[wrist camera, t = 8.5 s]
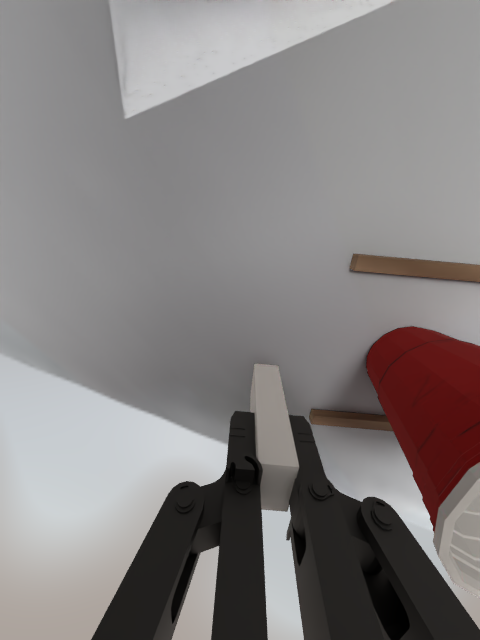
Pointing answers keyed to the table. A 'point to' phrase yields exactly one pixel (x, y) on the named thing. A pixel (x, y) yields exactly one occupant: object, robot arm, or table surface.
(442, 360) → the plastic cup
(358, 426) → the u-shaped frame
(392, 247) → the table surface
